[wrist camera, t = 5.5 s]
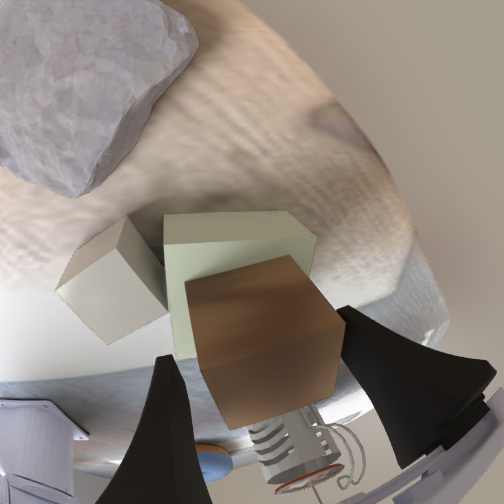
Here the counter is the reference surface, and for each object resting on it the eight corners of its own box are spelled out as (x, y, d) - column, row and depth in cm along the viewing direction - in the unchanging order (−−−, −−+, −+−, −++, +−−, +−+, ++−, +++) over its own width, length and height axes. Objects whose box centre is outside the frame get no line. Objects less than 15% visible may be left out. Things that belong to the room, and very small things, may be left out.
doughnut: (237, 438, 28) (243, 470, 24) (223, 461, 33) (228, 486, 29) (154, 436, 26) (155, 469, 22) (157, 459, 30) (158, 485, 26)
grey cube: (114, 299, 16) (108, 345, 12) (74, 251, 14) (54, 291, 10) (165, 268, 16) (168, 312, 12) (127, 214, 14) (115, 248, 10)
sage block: (171, 314, 18) (176, 359, 14) (163, 212, 14) (163, 244, 11) (271, 304, 20) (293, 343, 16) (285, 209, 16) (316, 237, 13)
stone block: (114, 189, 15) (215, 40, 11) (84, 233, 11) (217, 22, 7) (-16, 113, 9) (55, -29, 5) (-64, 135, 5) (12, -46, 1)
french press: (220, 430, 26) (291, 613, 5) (272, 369, 23) (396, 605, 2) (287, 428, 31) (362, 577, 10) (344, 373, 27) (454, 544, 6)
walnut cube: (208, 353, 15) (229, 430, 10) (184, 282, 12) (199, 370, 8) (293, 328, 16) (332, 395, 11) (289, 254, 13) (345, 323, 9)
